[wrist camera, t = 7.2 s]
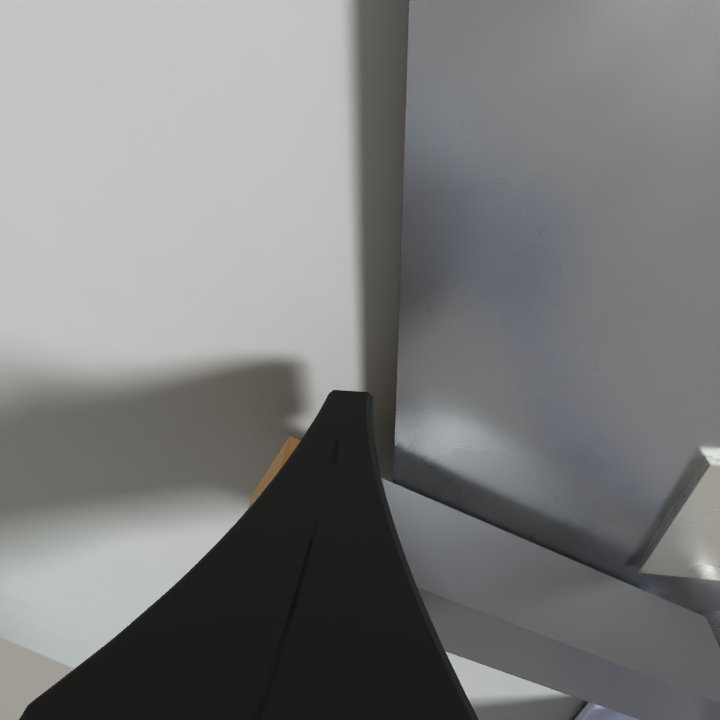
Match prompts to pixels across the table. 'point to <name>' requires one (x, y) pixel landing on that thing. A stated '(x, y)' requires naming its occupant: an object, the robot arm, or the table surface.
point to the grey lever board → (567, 280)
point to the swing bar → (550, 614)
